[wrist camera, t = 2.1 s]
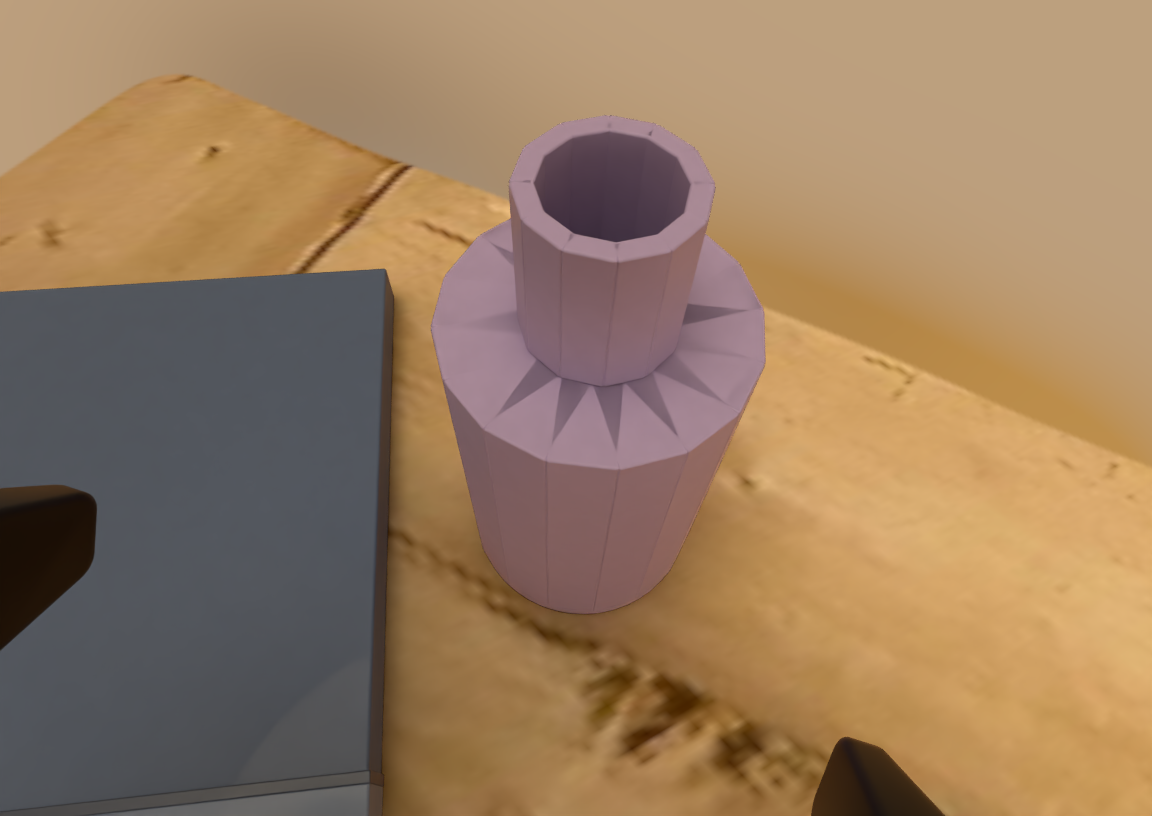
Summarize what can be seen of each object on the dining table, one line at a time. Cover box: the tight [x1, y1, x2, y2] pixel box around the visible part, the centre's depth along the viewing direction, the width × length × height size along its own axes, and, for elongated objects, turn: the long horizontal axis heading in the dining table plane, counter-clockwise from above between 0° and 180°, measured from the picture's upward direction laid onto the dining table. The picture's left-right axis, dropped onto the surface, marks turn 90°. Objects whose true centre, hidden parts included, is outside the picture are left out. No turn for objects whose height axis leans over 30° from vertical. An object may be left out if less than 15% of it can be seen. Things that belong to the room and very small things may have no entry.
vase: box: [431, 115, 765, 614], centre depth 17 cm, size 7×7×14 cm
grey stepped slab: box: [0, 269, 394, 816], centre depth 21 cm, size 20×14×2 cm
